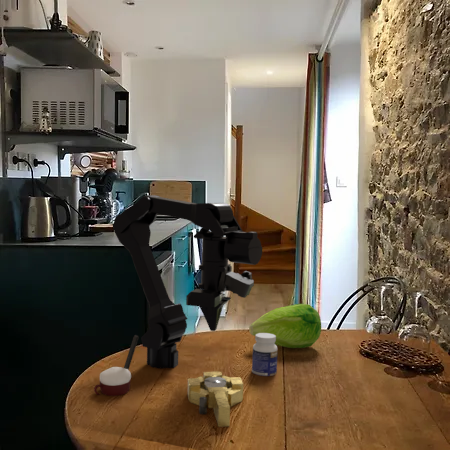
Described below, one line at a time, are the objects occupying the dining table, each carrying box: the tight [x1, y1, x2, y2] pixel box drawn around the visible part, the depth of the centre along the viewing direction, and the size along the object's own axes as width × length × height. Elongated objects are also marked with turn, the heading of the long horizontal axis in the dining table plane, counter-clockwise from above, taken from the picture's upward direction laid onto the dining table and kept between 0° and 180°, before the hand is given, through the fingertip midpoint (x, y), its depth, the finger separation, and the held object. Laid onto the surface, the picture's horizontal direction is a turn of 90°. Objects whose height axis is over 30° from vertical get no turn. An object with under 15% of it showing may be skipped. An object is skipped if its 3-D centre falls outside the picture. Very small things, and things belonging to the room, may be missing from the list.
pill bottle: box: [251, 333, 278, 377], centre depth 122 cm, size 6×6×10 cm
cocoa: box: [93, 334, 139, 397], centre depth 109 cm, size 10×6×12 cm, turn 106°
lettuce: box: [248, 303, 322, 349], centre depth 145 cm, size 14×20×12 cm
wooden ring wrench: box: [187, 371, 244, 428], centre depth 103 cm, size 19×11×4 cm, turn 8°
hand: (213, 330), depth 117 cm, fingers closed
